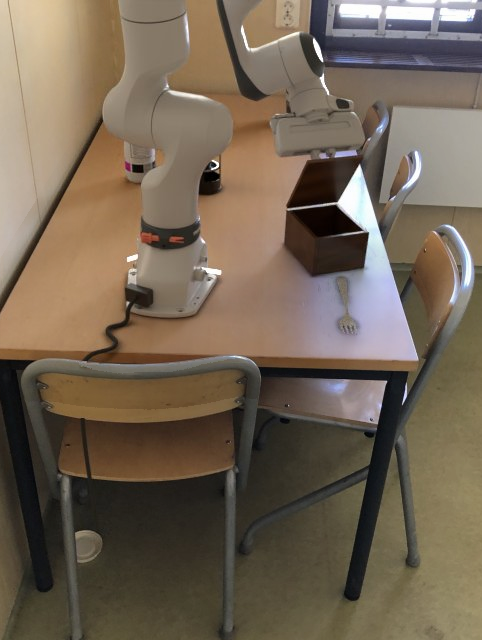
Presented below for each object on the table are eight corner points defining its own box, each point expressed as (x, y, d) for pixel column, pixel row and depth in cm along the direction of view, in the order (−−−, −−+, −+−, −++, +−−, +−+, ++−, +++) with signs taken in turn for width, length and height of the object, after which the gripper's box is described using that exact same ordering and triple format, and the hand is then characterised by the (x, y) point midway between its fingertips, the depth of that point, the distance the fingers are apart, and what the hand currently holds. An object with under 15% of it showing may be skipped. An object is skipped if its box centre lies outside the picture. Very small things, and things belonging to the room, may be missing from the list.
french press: (218, 197, 184) (218, 109, 171) (182, 193, 185) (180, 106, 172) (225, 180, 194) (226, 95, 180) (191, 177, 194) (190, 93, 181)
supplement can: (119, 180, 191) (115, 125, 182) (137, 170, 197) (134, 117, 188) (144, 186, 188) (141, 131, 179) (161, 176, 194) (159, 122, 185)
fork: (348, 277, 151) (349, 270, 150) (358, 342, 131) (359, 334, 130) (333, 277, 151) (334, 270, 150) (341, 341, 131) (342, 333, 130)
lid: (363, 157, 147) (362, 154, 147) (308, 163, 143) (307, 160, 143) (337, 202, 162) (336, 199, 162) (287, 208, 158) (285, 205, 158)
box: (364, 268, 155) (369, 231, 150) (311, 276, 151) (315, 239, 146) (333, 237, 167) (337, 202, 162) (283, 244, 163) (286, 209, 158)
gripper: (272, 107, 145) (287, 169, 143) (359, 100, 152) (374, 160, 150) (263, 122, 151) (277, 181, 149) (347, 115, 158) (362, 172, 156)
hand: (327, 170), depth 150 cm, fingers closed, pressing on lid
